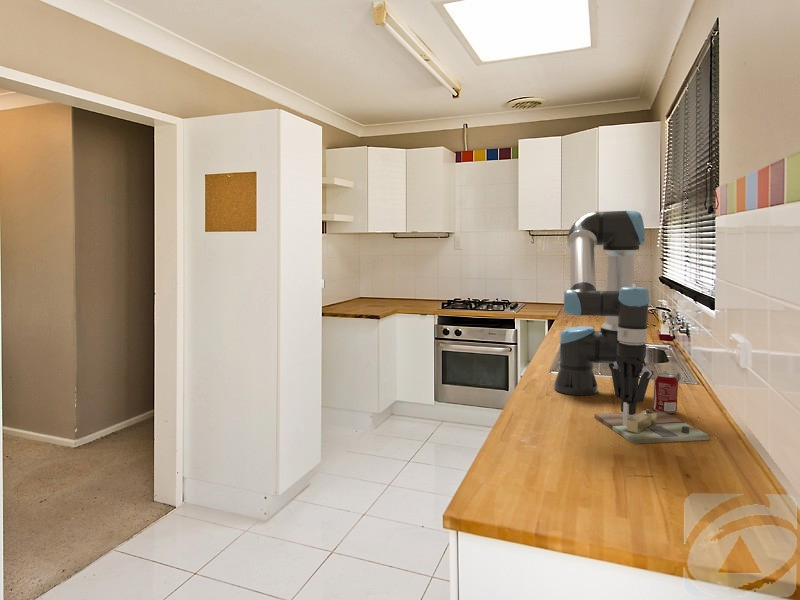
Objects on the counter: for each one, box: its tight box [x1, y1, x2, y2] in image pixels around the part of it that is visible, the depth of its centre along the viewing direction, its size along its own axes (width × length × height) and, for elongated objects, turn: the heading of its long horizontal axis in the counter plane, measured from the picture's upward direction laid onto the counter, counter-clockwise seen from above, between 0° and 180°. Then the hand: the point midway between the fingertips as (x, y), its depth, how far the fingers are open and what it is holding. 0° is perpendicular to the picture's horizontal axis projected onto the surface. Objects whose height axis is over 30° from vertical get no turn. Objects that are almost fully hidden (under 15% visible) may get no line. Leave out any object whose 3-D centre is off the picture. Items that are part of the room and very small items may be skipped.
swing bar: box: [627, 408, 657, 433], centre depth 151 cm, size 13×4×4 cm, turn 133°
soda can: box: [652, 372, 679, 415], centre depth 169 cm, size 7×7×12 cm
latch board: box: [594, 410, 711, 444], centre depth 154 cm, size 22×22×3 cm
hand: (627, 424), depth 150 cm, fingers closed
